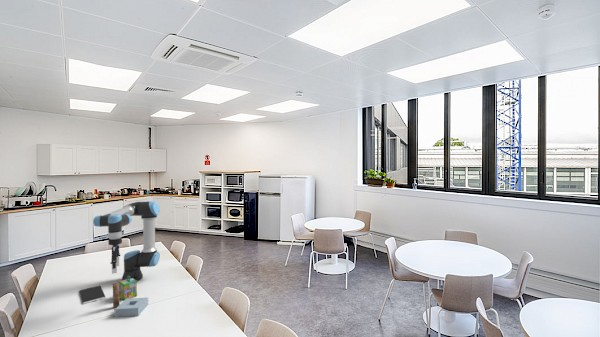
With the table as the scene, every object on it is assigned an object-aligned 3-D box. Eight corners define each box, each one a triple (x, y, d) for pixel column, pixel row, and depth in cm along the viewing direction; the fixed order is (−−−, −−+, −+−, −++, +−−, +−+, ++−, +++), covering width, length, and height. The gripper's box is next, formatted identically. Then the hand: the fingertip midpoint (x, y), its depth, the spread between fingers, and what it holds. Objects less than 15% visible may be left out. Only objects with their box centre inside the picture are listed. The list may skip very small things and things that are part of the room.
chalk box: (118, 297, 203) (117, 276, 203) (132, 292, 210) (131, 273, 210) (123, 301, 198) (122, 280, 197) (137, 296, 205) (137, 276, 205)
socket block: (126, 305, 191) (126, 298, 191) (148, 304, 192) (148, 297, 192) (115, 317, 177) (114, 309, 177) (138, 315, 178) (138, 307, 178)
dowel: (115, 305, 191) (114, 282, 190) (120, 305, 191) (120, 282, 191) (112, 308, 187) (111, 284, 187) (117, 308, 187) (117, 284, 187)
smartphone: (82, 305, 193) (82, 303, 193) (79, 292, 213) (79, 290, 213) (105, 299, 202) (105, 297, 202) (100, 287, 222) (100, 284, 222)
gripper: (111, 234, 197) (111, 264, 197) (105, 243, 175) (106, 277, 175) (123, 233, 200) (124, 262, 201) (119, 241, 178) (120, 275, 178)
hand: (115, 269), depth 188 cm, fingers open, 13 cm apart
